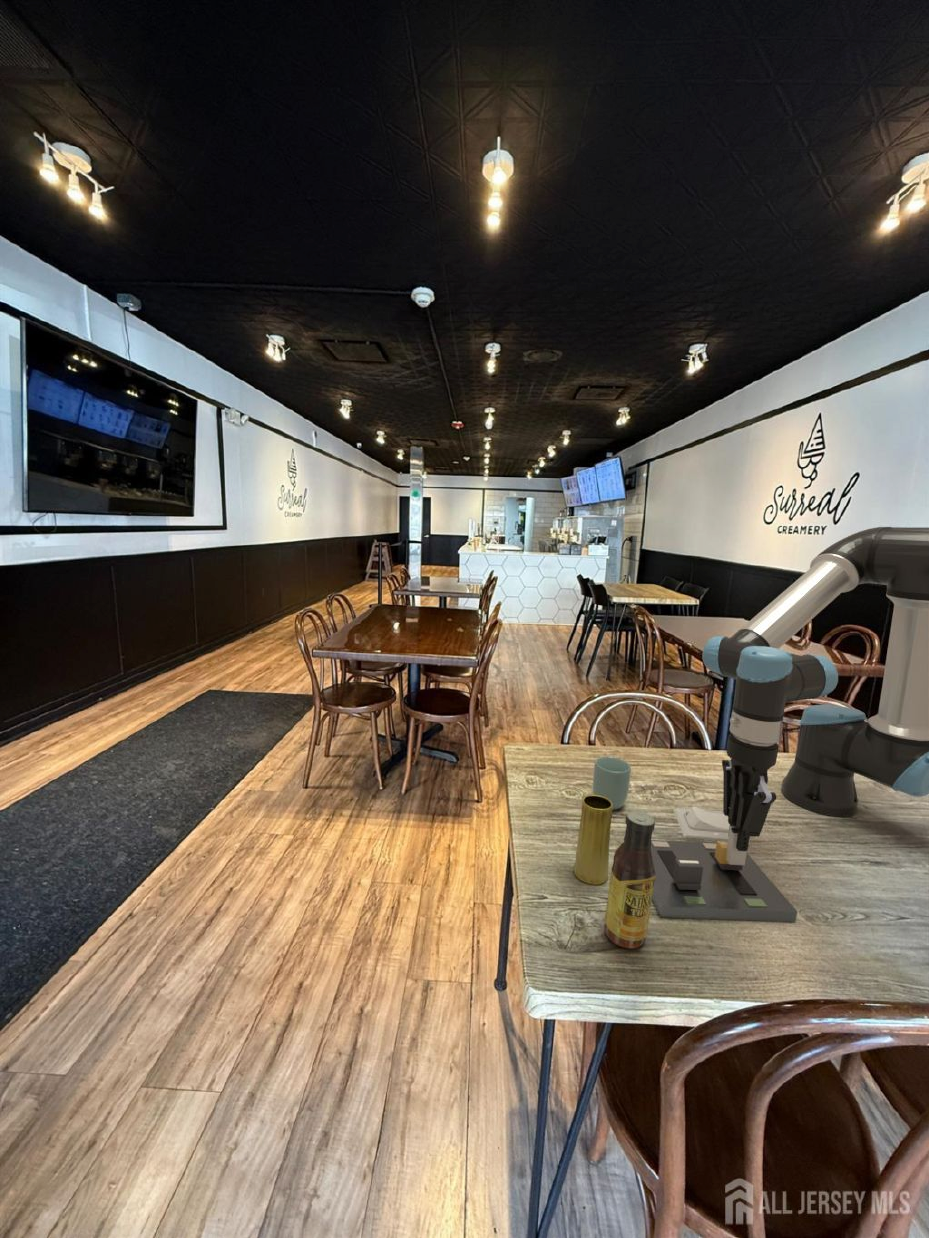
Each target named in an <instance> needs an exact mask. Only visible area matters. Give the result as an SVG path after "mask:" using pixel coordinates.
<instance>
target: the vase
mask: <svg viewBox="0 0 929 1238" xmlns="http://www.w3.org/2000/svg"><path fill="white" fill-rule="evenodd" d="M581 803H582V805H581V812H580V813H581V815H580V821H579V828H578V837H577V845H576V852H575V861H574V865H573V874H574V875H575V877H576V878H577V879H578V880H579V881H581V882H583V883H586V884H588V885H602V884H605V883H606V882H607V881H608V878H609V875H608V874H609V858H610V855H609V854H610V852H609V851H610V840H611V825H612V817H613V811H614V810H613V804H612V802H611V801H610V800H609V799H608V798H606V797H603V796H600V795H593V794H587V795H584V796H583V797H582V802H581Z"/></svg>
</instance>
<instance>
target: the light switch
mask: <svg viewBox="0 0 929 1238" xmlns="http://www.w3.org/2000/svg"><path fill="white" fill-rule="evenodd" d="M673 813H674V815H675V819H676V821H677V822H678V825H679V828H680V831H681V833H682V835H683V837H684V838H688V839H690V838H691V839H696V840H702V841H703V840H705V841H709V842H710V841H712V842H717V841H728V834H729V828H730V824H729V823H728V816H725V815H724V813H723V811H721V810H707V809H702V808H700V807H696V806H692V807H691V808H683V807H675V808H674V809H673ZM748 846H751V841H750V840H749V845H748Z"/></svg>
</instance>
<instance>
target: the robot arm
mask: <svg viewBox="0 0 929 1238" xmlns="http://www.w3.org/2000/svg"><path fill="white" fill-rule="evenodd" d="M869 583H870V584H878V585H886V594H885V595H886V597H887V598H888V599H889V600H890V601H891V602H892V603H893V612H892V616H891V617H892V618H891V624H890V625H891V626H890V631H889V638H888V644H887V645H888V646H887V653H886V659H885V665H884V674H883V678H882V679H883V680H882V687H881V692H880V699H879V706H878V712H877V714H875V715H873V716H871V717H870V718H867V717H866V714H865V712H863V711H861V710H860V709H856V708H852V707H848V706H842V705H834V704H832V705H831V704H815V705H810V706H808V707H806V708H805V709H804V710H803V712H802V716H801V719H800V722H799V724H800V725H799V732H798V737H797V744H796V749H795V750H796V751H795V756H794V762H793V763H792V765H791V766H790V768H789V771H788V772H787V774H786V775H785V777H784V778H783V779H782V781H781V786H780V787H781V788H780V790H781V793H782V795H783V796H784V797H785V798H786V799H787V800H788V801H790V802H792V803H793V804H795V805H797V806H800V807H801V808H804V809H806V810H809V811H812V812H814V813H818V814H822V815H826V816H831V817H839V818H841V817H842V818H844V817H845V818H846V817H851V816H855V815H856V814H857V812H858V809H859V807H858V806H859V799H858V794H857V787H856V783H855V779H854V776H855V774H856V775H859V776H861V777H864V778H866V779H869V780H871V781H872V782H876V783H879V784H880V785H883V786H885V787H888V788H891V789H892V791H896V792H898V791H899V792H901V793H904V794H906V795H909V796H912V797H916V798H917V797H918V798H920V797H925V796H927V795H929V527H924V526H923V527H917V526H916V527H907V526H906V527H901V526H897V527H892V526H878V527H871V528H867V529H864V530H860V531H857V532H855V533H852V534H850V535H848V536H846V537H844V538H842V539H840V540H838V541H836V542H835V543H834V542H833V543H832V544H831V545H830V546H828V547H827V548H825V549H824V550H823V551H822V552H820V553H819V554H817V555H816V556H815V557H814V558H813V559H812V561H811V562H810V565H809V569H807V571H805V572H804V573H803V574H802V575H801V576H799V578H798V579H796V580H795V581H793V583H792V584H790V586H788V587H787V588H786V589H785V590H784V591H782V592H781V593H780V594H779V595H778V596H777V597H775V598H774V599H773V600H772V601H771V602H770V603H769V604H768V605H767V606H765V607H764V608H763V609H762V610H761V611H759V612H758V613H757V614H756V615H755V616H754V617H752V618H751V620H749V621H748V622H746V624H744V625H743V626H742V627H741V628H740V629H738V630H737V631H736V632H735V633H734V634H732V635H731V637H728V636H722V635H721V636H720V635H717V636H713V637H710V639H708V641H707V642H705V643H706V644H705V645H704V647H703V649H702V654H701V656H702V661H703V664H704V667H706V669H707V670H709V671H710V672H713V673H715V674H718V675H720V676H722V677H725V678H729V679H732V680H733V679H734V680H735V688H734V689H735V690H734V698H733V704H732V710H731V711H732V712H731V717H730V718H729V723H730V724H729V725H730V726H729V732H730V733H729V734H728V736H727V737H728V738H727V743H726V749H725V750H726V751H725V752H726V755H727V756H728V757H729V759H722V760H721V765H722V771H723V792H722V793H723V799H722V801H723V803H722V804H723V806H722V808H723V809H722V810H723V813H724V815H725V816H728V823H729V824H730V828H729V834H728V844H727V851H726V858H725V860H726V861H727V862H728V863H729V865H745V860H746V853H747V854H748V849H749V846H750V845H749V841H750V837H754V838H755V837H760V836H761V833H762V830H763V827H764V825H765V822H766V819H767V817H768V814H769V812H770V809H771V807H772V805H773V804H774V802H775V801H776V800H777V799H778V798H777V794H776V793H775V791H774V792H773V791H770V789H769V787H768V783H769V775H768V771H769V769H771V768H773V767H774V766H775V765H776V764H777V759H778V753H779V747H780V746H779V744H778V743H779V742H780V741H781V737H782V729H783V723H784V722H783V721H784V713H785V709H786V703H791V702H796V701H804V700H806V701H807V700H814V699H815V700H816V699H818V698H820V697H824V696H827V695H830V694H831V693H832V692H833V691H834V690H835V689H836V687H837V685H838V683H839V673H838V670H837V668H836V666H835V664H834V663H833V662H832V661H831V660H829V659H828V658H827V657H824V656H822V655H819V654H818V655H817V654H810V653H809V654H808V653H805V654H802V655H801V654H800V655H799V654H795V653H791V652H789V651H787V650H785V649H781V647H783V646H784V645H785V644H786V643H787V642H788V641H789V640H790V639H791V638H793V637H794V636H795V635H796V634H797V633H798V632H799V631H800V630H802V628H804V627H805V626H806V625H807V624H808V623H809V622H811V620H812V619H814V618H815V617H816V616H817V615H818V614H820V613H821V612H822V611H823V610H824V609H825V608H826V607H828V605H829V604H831V603H832V602H833V601H834V600H835V599H836V598H837V597H838V596H840V595H841V593H847V592H850V591H853V590H854V589H855V588H856V587H858V585H862V584H869ZM866 719H867V721H866Z"/></svg>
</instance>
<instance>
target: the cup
mask: <svg viewBox="0 0 929 1238" xmlns="http://www.w3.org/2000/svg"><path fill="white" fill-rule="evenodd" d="M631 773H632V767H631V764H630V763H629V762H627V761H626V760H624V759H621V758H618V757H615V756H600V757H598V758H597V759H595V762H594V766H593V773H592V774H593V775H592V776H593V777H592V795H600V796H603V797H606V798H608V799H609V800H610V801H611V802H612V804H613V810H612V811H614V810H619V809H620V808H622V807H624V805H625V803H626V802H627V798H628V796H629V795H628V794H629V791H630V783H631Z"/></svg>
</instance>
